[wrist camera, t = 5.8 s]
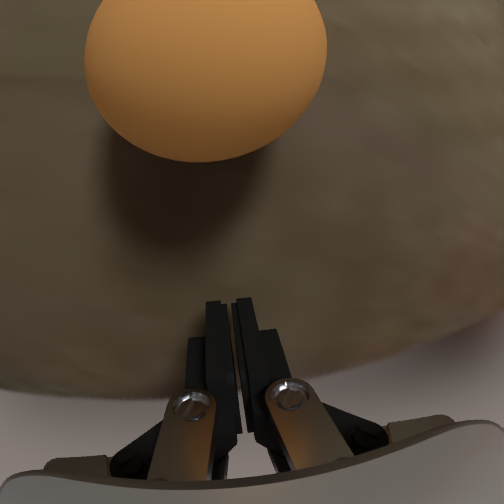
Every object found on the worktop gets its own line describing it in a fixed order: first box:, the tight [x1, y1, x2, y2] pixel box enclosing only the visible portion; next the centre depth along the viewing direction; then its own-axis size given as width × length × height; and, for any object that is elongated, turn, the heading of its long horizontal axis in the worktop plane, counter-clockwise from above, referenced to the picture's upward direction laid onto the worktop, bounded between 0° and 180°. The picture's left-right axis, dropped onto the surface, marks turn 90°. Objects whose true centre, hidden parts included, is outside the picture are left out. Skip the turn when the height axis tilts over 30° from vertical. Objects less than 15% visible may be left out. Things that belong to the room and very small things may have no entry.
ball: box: [84, 0, 327, 162], centre depth 6 cm, size 6×6×6 cm
